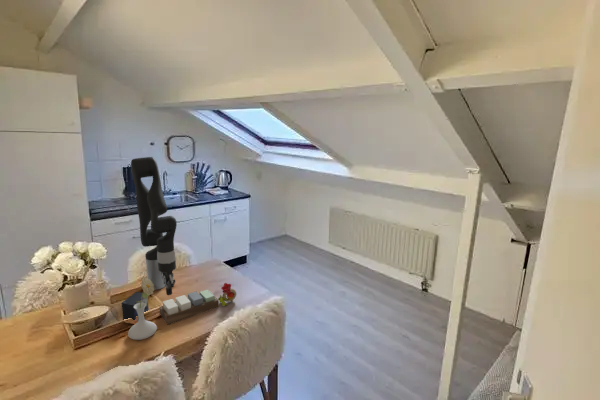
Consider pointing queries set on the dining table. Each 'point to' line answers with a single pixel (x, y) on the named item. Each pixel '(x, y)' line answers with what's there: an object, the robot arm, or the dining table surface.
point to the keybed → (188, 311)
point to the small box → (129, 304)
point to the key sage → (207, 296)
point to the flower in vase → (142, 326)
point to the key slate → (195, 298)
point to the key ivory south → (170, 307)
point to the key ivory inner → (183, 302)
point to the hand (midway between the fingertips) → (169, 294)
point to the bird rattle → (229, 292)
